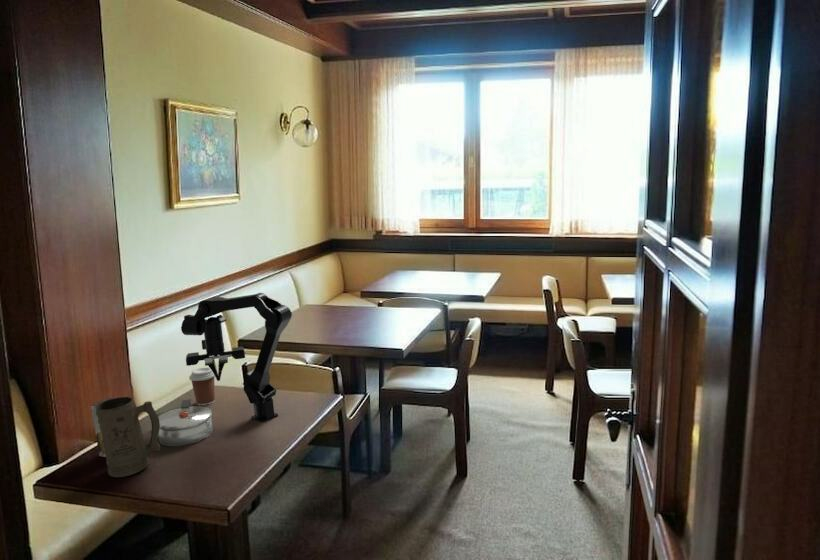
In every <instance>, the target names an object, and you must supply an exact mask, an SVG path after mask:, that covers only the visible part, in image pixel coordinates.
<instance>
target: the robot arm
mask: <svg viewBox="0 0 820 560" xmlns="http://www.w3.org/2000/svg"><path fill="white" fill-rule="evenodd" d="M248 308H254V309H255V310H256V312H257V313H258V314H259V316H260V317H262V318H263V319H264V320H265V321H264V328H265V334H264V337H263V341H262V343H261V346H260V350H259V353H258V357H257V360H256V363H255V366H254V368H253V369H251V370H250V371H248V372H247V373H246V374H245V375H244V376H245V377H244V381H243V383H242V386H243V392H244V393H245V394H246V397H247V399H248V401H249V403H250V404H251V405H252V404H253V411H254V412H253V413H254V415H252V416H250V417H251V418H250V419H253V420H255V421H256V420H257V421H260V422H266V421H269V420H271V419H273V418H276V417H278V416H279V414H278V413H276V412H275V409H274V407H275V406H274V398H273V397H275V396H276V394H277V389H276V388H275V387H274V386H273V384H271V383H270V381H271V377H270V368H271V365H272V363H273V359H274V356H275V352H276V350H277V347H278V343H279V341H280V337H281V334H282V333H283V332H284V330H285V329H286V327H287V326H288V324H289V323H290V320H291V319H292V316H293V313H292V311H291V309H290V307H288V306H287V305H285V304H283V303H281V302H280V301H279V300H276V299H274V298H272V297H269V296H268V295H267V294H265V293H264V292H258V293H253V294H247V295H242V296H235V297H229V298H227V297H223V296H212V297H208V298H207V299H203V300H201V301H199V303H198V305H197V310H196V312H195V314H194V315H193V314H186V315H184V316H183V318H184V319H183V320H182V322H181V327H180V330H181V332H182V334H183V335H185V336H204V339H202V340H201V349H202V350H205V351H206V353H205V354H200V353H199V351H198V352H188V353H187V354H186V356H185V365H186V366H188V367H189V366H196V365H197V364H198V363H199V362H200V361H204V366H205V367H209V368H210V369H211V370H212V371H213V373H214V375H215V377H214V378H215V379H216V381H217V382H221V378H222V372H223V369H224V367H225V364H228V362H229V360H228V359H229V358H230V357H231V358H233V359H234V360H241V359H246V352H245V347H243V346H236V347H232V348H231V350H228V351H227V350H226V351H225V342H224V339H223V338H224V336H223V327H222V324H223V323H224V322H227V318H226V317H224V316H223V314H221V313H224V312H227V311H228V312H229V311H234V310H242V309H248ZM218 314H219V315H218ZM215 315H217V316H215ZM206 318H207V319H206ZM215 359H218V368H217V364H216V361H215Z"/></svg>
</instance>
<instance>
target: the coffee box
mask: <svg viewBox="0 0 820 560" xmlns="http://www.w3.org/2000/svg"><path fill="white" fill-rule="evenodd" d="M110 399H114V398H112V397H106V398H103V399H102V400H99V401H98V402H96V403H94V404H93V403H92V404H91V405H90V409H91V415H92V419H93V421H92V422H93V426H94V431H95V438H96V444H97V450H98V456H99V457H103V458H106V454H105V449H104V444H103V439H102V433H101V428H100V423H99V419H98V417H97V415H96V407H97V405H98V404H100V403H102V402H104V401H106V400H110Z"/></svg>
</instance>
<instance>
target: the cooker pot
mask: <svg viewBox="0 0 820 560" xmlns="http://www.w3.org/2000/svg"><path fill="white" fill-rule="evenodd" d="M163 413H166V412H164V411H162V412H160V413H157V415H158V417H159V416H160V415H162V414H163ZM212 421H213V420H212V417H211V418H210V419H209V420H208V421H206V422H205V423H203V424H201V425H198V426H195V427H192V428H187V429H182V430H162V429H159V434H158V441H159V442H158V443H159V444H160V445H162V446H167V447H181V446H182V445H183V446H188V444H189V445H192V444H191V443H193V444H196V443H198V442H197V441H199V440H202V439H204V438H206V437H207V438H209V437H210V436H211V435H212V434H213V432H214V429H213V424H212V423H213V422H212ZM212 431H213V432H212ZM211 433H212V434H211ZM210 434H211V435H210ZM209 435H210V436H209ZM208 436H209V437H208ZM207 438H206V439H207ZM204 440H205V439H204ZM202 441H203V440H202ZM195 442H196V443H195ZM199 442H200V441H199Z"/></svg>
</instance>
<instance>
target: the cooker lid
mask: <svg viewBox="0 0 820 560" xmlns="http://www.w3.org/2000/svg"><path fill="white" fill-rule="evenodd" d="M181 402H182V403H181V407H179V408H174V409H171V410H169V411H166V412H165V413H163V414H162V415H160V416H159V423H160V428H159V429H162V430H182V429H187V428H192V427H195V426H198V425H201V424H203V423H205V422H206V421H208V420H209V419H210V418H211V419H212V416H213V413H212V410H211V408H209V407H208V406H207V407H206V406H200V405H194V406H192V405H191V399H183V400H182V401H181Z"/></svg>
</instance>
